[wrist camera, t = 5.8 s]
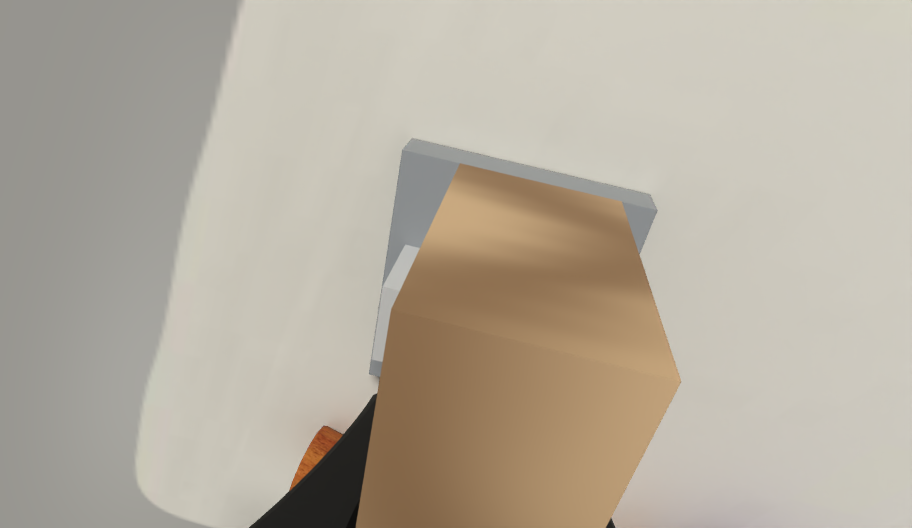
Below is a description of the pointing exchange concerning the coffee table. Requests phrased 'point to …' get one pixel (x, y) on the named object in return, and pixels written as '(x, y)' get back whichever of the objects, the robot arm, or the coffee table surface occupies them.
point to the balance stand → (421, 197)
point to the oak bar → (517, 364)
